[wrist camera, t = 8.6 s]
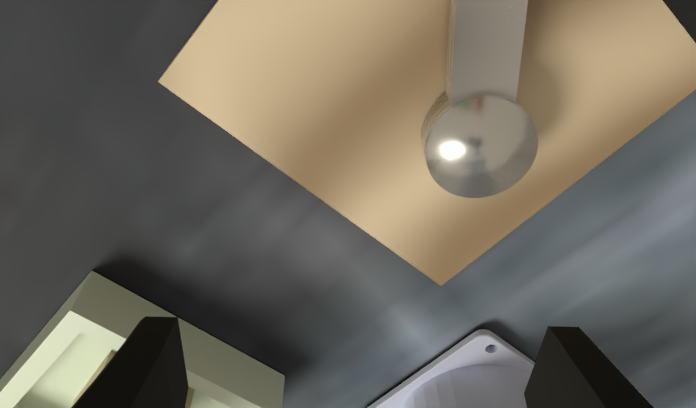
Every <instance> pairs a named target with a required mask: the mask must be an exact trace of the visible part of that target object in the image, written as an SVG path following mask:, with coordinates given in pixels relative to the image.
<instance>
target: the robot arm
mask: <svg viewBox="0 0 696 408" xmlns="http://www.w3.org/2000/svg"><path fill="white" fill-rule="evenodd" d="M488 345H491V346H488ZM188 387H189V386H188V380H187V373H186V367H185V360H184V354H183V347H182V341H181V334H180V328H179V321H178V317H150V316H145V317H144V318H143V319H142V320H140V322H139V323H138V324H137V326H136V327H135V328H134V330H133V331H132V332H131V334H130V335H129V336H128V338H127V339H126V340H125V342H124V343H123V344H122V346H121V347H120V348H119V350H118V351H117V352H116V354H115V355H114V356H113V357H112V359H111V360H110V361H109V363H108V364H107V365H106V366H105V368H104V369H103V370H102V371H101V373H100V374H99V375H98V376H97V378H96V379H95V380H94V381H93V382H92V384H91V385H90V386H89V387H88V388H87V390H86V391H85V392H84V393H83V394H82V396H81V397H80V398H79V399H78V400H77V401H76V403H75V404H74V405H73V406H72V407H71V408H185V405H186V399H187V393H188ZM367 408H653V406H652V405H651V404H650V403H649V402H648V401H647V400H646V399H645V398H644V397H643V396H642V395H641V394H640V393H639V392H638V391H637V390H636V389H635V388H634V386H633V385H632V384H631V383H630V382H629V381H628V380H627V379H626V378H625V377H624V376H623V375H622V374H621V372H620V371H619V370H618V369H617V368H616V367H615V366H614V365H613V364H612V363H611V362H610V361H609V359H608V358H607V357H606V356H605V355H604V354H603V353H602V352H601V351H600V350H599V349H598V347H597V346H596V345H595V344H594V343H593V342H592V341H591V340H590V339H589V338H588V337H587V336H586V335H585V333H584V332H583V331H582V330H581V329H580V328H579V327H550V326H548V328H547V331H546V334H545V337H544V339H543V342H542V345H541V348H540V350H539V353H538V356H537V359H536V361H535V362H534V361H532V360H531V359H529V358H528V357H526V356H525V355H524V354H522V353H521V352H519V351H518V350H517V349H515V348H514V347H512V346H511V345H510V344H508V343H507V342H505V341H504V340H503V339H501V338H500V337H498V336H497V335H496V334H494V333H493V332H491V331H489V330H487V329H481V330H477V331H475V332H474V333H472V334H471V335H469V336H468V337H467V338H465V339H464V340H462V341H461V342H459V343H458V344H457V345H455V346H454V347H452V348H451V349H450V350H448V351H447V352H445V353H444V354H442V355H441V356H440V357H438V358H437V359H435V360H434V361H432V362H431V363H430V364H428V365H427V366H425V367H424V368H423V369H421V370H420V371H418V372H417V373H415V374H414V375H413V376H411V377H410V378H408V379H407V380H406V381H404V382H403V383H401V384H400V385H398V386H397V387H396V388H394V389H393V390H391V391H390V392H389V393H387V394H386V395H384V396H383V397H381V398H380V399H379V400H377V401H376V402H374V403H373V404H371V405H370V406H369V407H367Z"/></svg>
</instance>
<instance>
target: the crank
mask: <svg viewBox="0 0 696 408" xmlns="http://www.w3.org/2000/svg"><path fill="white" fill-rule="evenodd" d="M527 5H528V0H450V9H449V31H448V52H447V74H446V94H444V95H443V96H442V97H441V98H439V99H438V100H437V101H436V102H435V103H434V104H433V106H432V107H431V108H430V110H429V111H428V113H427V115H426V117H425V119H424V122H423V125H422V129H421V144H422V148H423V152H424V156H425V159H426V163H427V167H428V169H429V172H430V174H431V176H432V178H433V179H434V180H435V182H436V183H437V184H438V185H439V186H440V187H441V188H443V189H444V190H446V191H448V192H449V193H451V194H454V195H457V196H460V197H465V198H483V197H489V196H493V195H496V194H499V193H501V192H503V191H505V190H507V189H509V188H510V187H512V186H513V185H515V184H516V183H517V182H518V181H520V180H521V179H522V178H523V177H524V176H525V174H526V173H527V172H528V170H529V169H530V168H531V166H532V164H533V162H534V160H535V157H536V154H537V150H538V134H537V130H536V127H535V125H534V123H533V121H532V119H531V118H530V116H529V115H528V113H527V112H526V110H525V109H524V107H523V106H522V104H521V103H520V101H519V100H518V99H517V98H516V96H517V88H518V80H519V71H520V63H521V55H522V47H523V38H524V30H525V22H526V14H527Z"/></svg>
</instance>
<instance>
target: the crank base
mask: <svg viewBox="0 0 696 408" xmlns="http://www.w3.org/2000/svg"><path fill="white" fill-rule="evenodd" d="M449 9H450V0H218V1H217V2H216V3H215V5H214V6H213V7H212V9H211V10H210V11H209V13H208V14H207V15H206V17H205V18H204V19H203V21H202V22H201V23H200V25H199V26H198V28H197V29H196V30H195V32H194V33H193V34H192V36H191V37H190V38H189V40H188V41H187V42H186V44H185V45H184V46H183V48H182V49H181V50H180V52H179V53H178V54H177V56H176V57H175V58H174V60H173V61H172V62H171V64H170V65H169V67H168V68H167V70H166V71H165V72H164V74H163V75H162V77H161V78H160V80H159V81H158V82H159V83H161V84H162V85H163V86H165V87H166V88H168V89H169V90H170V91H172V92H173V93H174V94H176V95H177V96H179V97H180V98H181V99H183V100H184V101H186V102H187V103H188V104H190V105H191V106H192V107H194V108H195V109H197V110H198V111H199V112H201V113H202V114H204V115H205V116H206V117H208V118H209V119H210V120H212V121H213V122H215V123H216V124H217V125H219V126H220V127H222V128H223V129H224V130H226V131H227V132H228V133H230V134H231V135H233V136H234V137H235V138H237V139H238V140H240V141H241V142H242V143H244V144H245V145H246V146H248V147H249V148H251V149H252V150H253V151H255V152H256V153H258V154H259V155H260V156H262V157H263V158H264V159H266V160H267V161H269V162H270V163H271V164H273V165H274V166H276V167H277V168H278V169H280V170H281V171H283V172H284V173H285V174H287V175H288V176H289V177H291V178H292V179H294V180H295V181H296V182H298V183H299V184H301V185H302V186H303V187H305V188H306V189H307V190H309V191H310V192H312V193H313V194H314V195H316V196H317V197H319V198H320V199H321V200H323V201H324V202H325V203H327V204H328V205H330V206H331V207H332V208H334V209H335V210H337V211H338V212H339V213H341V214H342V215H343V216H345V217H346V218H348V219H349V220H350V221H352V222H353V223H355V224H356V225H357V226H359V227H360V228H361V229H363V230H364V231H366V232H367V233H368V234H370V235H371V236H373V237H374V238H375V239H377V240H378V241H379V242H381V243H382V244H384V245H385V246H386V247H388V248H389V249H391V250H392V251H393V252H395V253H396V254H397V255H399V256H400V257H402V258H403V259H404V260H406V261H407V262H409V263H410V264H411V265H413V266H414V267H416V268H417V269H418V270H420V271H421V272H422V273H424V274H425V275H427V276H428V277H429V278H431V279H432V280H434V281H435V282H436V283H438V284H439V285H440V286H442V285H443V284H444V283H445V282H447V281H448V280H449V279H451V278H452V277H453V276H454V275H456V274H457V273H458V272H460V271H461V270H462V269H464V268H465V267H466V266H467V265H469V264H470V263H471V262H473V261H474V260H475V259H476V258H478V257H479V256H480V255H482V254H483V253H484V252H486V251H487V250H488V249H489V248H491V247H492V246H493V245H495V244H496V243H497V242H498V241H500V240H501V239H502V238H504V237H505V236H506V235H508V234H509V233H510V232H511V231H513V230H514V229H515V228H517V227H518V226H519V225H520V224H522V223H523V222H524V221H526V220H527V219H528V218H530V217H531V216H532V215H533V214H535V213H536V212H537V211H539V210H540V209H541V208H542V207H544V206H545V205H546V204H548V203H549V202H550V201H552V200H553V199H554V198H555V197H557V196H558V195H559V194H561V193H562V192H563V191H565V190H566V189H567V188H568V187H570V186H571V185H572V184H574V183H575V182H576V181H577V180H579V179H580V178H581V177H583V176H584V175H585V174H587V173H588V172H589V171H590V170H592V169H593V168H594V167H596V166H597V165H598V164H599V163H601V162H602V161H603V160H605V159H606V158H607V157H609V156H610V155H611V154H612V153H614V152H615V151H616V150H618V149H619V148H620V147H621V146H623V145H624V144H625V143H627V142H628V141H629V140H631V139H632V138H633V137H634V136H636V135H637V134H638V133H640V132H641V131H642V130H643V129H645V128H646V127H647V126H649V125H650V124H651V123H653V122H654V121H655V120H656V119H658V118H659V117H660V116H662V115H663V114H664V113H665V112H667V111H668V110H669V109H671V108H672V107H673V106H675V105H676V104H677V103H678V102H680V101H681V100H682V99H684V98H685V97H686V96H687V95H689V94H690V93H691V92H693V91H694V90H695V89H696V43H695V42H694V40H693V39H692V38H691V37H690V35H689V34H688V33H687V31H686V30H685V29H684V28H683V26H682V25H681V24H680V22H679V21H678V20H677V18H676V17H675V16H674V15H673V13H672V12H671V11H670V9H669V8H668V7H667V5H666V4H665V3H664V2H663V0H528V5H527V14H526V22H525V30H524V38H523V47H522V55H521V63H520V71H519V80H518V88H517V96H516V98H517V99H518V100H519V101H520V103H521V104H522V106H523V107H524V109H525V110H526V112H527V113H528V115H529V116H530V118H531V119H532V121H533V123H534V125H535V127H536V130H537V134H538V150H537V154H536V157H535V160H534V162H533V164H532V166H531V168H530V169H529V170H528V172H527V173H526V174H525V176H524V177H523V178H522V179H521V180H520V181H518V182H517V183H516V184H515V185H513V186H512V187H510V188H509V189H507V190H505V191H503V192H501V193H499V194H496V195H493V196H489V197H483V198H465V197H460V196H457V195H454V194H451V193H449V192H448V191H446V190H444V189H443V188H441V187H440V186H439V185H438V184H437V183H436V182H435V180H434V179H433V178H432V176H431V174H430V172H429V169H428V167H427V163H426V159H425V156H424V152H423V148H422V144H421V129H422V125H423V122H424V119H425V117H426V115H427V113H428V111H429V110H430V108H431V107H432V106H433V104H434V103H435V102H436V101H437V100H438V99H439V98H441V97H442V96H443V95H444V94H446V74H447V52H448V31H449Z"/></svg>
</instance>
